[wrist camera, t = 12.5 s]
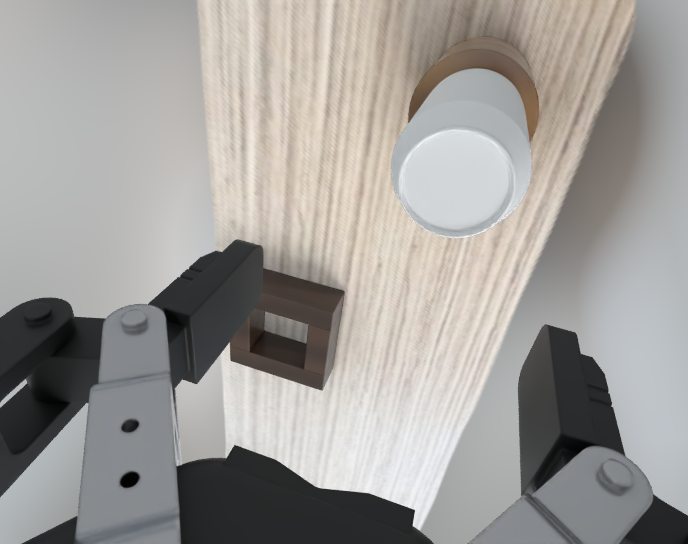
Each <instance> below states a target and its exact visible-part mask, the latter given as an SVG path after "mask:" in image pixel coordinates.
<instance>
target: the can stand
mask: <svg viewBox="0 0 688 544" xmlns="http://www.w3.org/2000/svg"><path fill="white" fill-rule="evenodd" d="M343 299H344V291H341V290H337V289H334V288H330V287H326V286H323V285H319V284H316V283H312V282H309V281H305V280H302V279H298V278H295V277H291V276H288V275H284V274H280V273H277V272H273V271H270V270H266V269H263V288H262V295H261V298H260V301H259V303H258V305H257V307H256V309H255V310H254V311H253V312H252V314H251V315H250V316H249V318H248V319H247V320H246V322H245V323H244V324H243V325H242V327H241V328H240V329H239V331H238V332H237V333H236V334H235V336H234V337H233V338H232V340H231V341H230V358H231V361H233V362H236V363H239V364H242V365H245V366H248V367H251V368H254V369H257V370H260V371H263V372H266V373H270V374H273V375H276V376H279V377H282V378H285V379H288V380H291V381H294V382H297V383H300V384H303V385H306V386H309V387H312V388H315V389H319V390H323V389H324V386H325V384H326V382H327V380H328V378H329V375H330V373H331V371H332V369H333V365H334V358H335V351H336V345H337V338H338V332H339V325H340V319H341V312H342V306H343ZM264 311H266V312H269V313H273V314H276V315H279V316H283V317H286V318H289V319H293V320H296V321H299V322H303V323H306V324H309V326H308V336H307V344H304V343H301V342H297V341H294V340H291V339H288V338H284V337H281V336H278V335H275V334H272V333H268V332H265V331H264Z"/></svg>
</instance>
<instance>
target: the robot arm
mask: <svg viewBox="0 0 688 544" xmlns="http://www.w3.org/2000/svg"><path fill="white" fill-rule="evenodd" d="M262 288H263V248H262V246H260V245H256V244H253V243H249V242H245V241H242V240H235V241H234V242H233V243H232V244H230V245H229V246H228V247H227V248H226V249H225V250H224V251H223V252H219V251H214V252H212V253H210V254H207V255H205V256H203V257H200V258H199V259H198V260H197V261H196V262H195V263H194V264H193V265H191V266H190V267H189V270H188V269H187V270H186V271H185V272H183V273H182V274H181V276H180V278H179V277H178V278H177V279H176V280H174V281H173V282H172V283H171V284H170V285H169V286H168V287H167V288H166V289H164V290H163V291H162V292H161V293H160V294H159V295H158V296H157V297H155V298H154V299H153V300H152V301H151V302H150V303H149V304H148V305H147V304H134V305H129V306H125V307H122V308H120V309H118V310H116V311H114V312H113V313H111V314H110V315H109V316H108V317H107V318H106V319H103V318H86V317H74V314H73V310H72V307H71V305H70V304H69V303H68V302H66V301H64V300H62V299H58V298H39V299H34V300H31V301H27V302H25V303H22V304H20V305H18V306H16V307H15V308H13V309H12V310H10V311H9V312H8V313H6V314H5V315H3V316H2V317H1V318H0V402H1V401H2V400H3V399H4V398H5V397H6V396H7V394H9V393H10V392H11V391H12V390H13V389H15V388H16V387H17V386H18V385H19V384H20V383H21V382H22V381H23V380H25V379H26V380H27V384H26V385H25V386H24V387H23V388H22V389H21V390H20V391H19V392H17V393H16V394H15V395H14V396H13V397H12V398H11V399H10V400H9V401H7V402H6V403H5V404H4V405H3V406H2V407H1V408H0V497H1V496H2V495H3V494H4V493H5V492H6V490H7V489H8V488H9V487H10V486H11V485H12V484H13V483H14V482H15V481H16V480H17V478H18V477H19V476H20V475H21V474H22V473H23V472H24V471H25V470H26V468H27V467H28V466H29V465H30V464H31V463H32V462H33V461H34V460H35V459H36V458H37V456H38V455H39V454H40V453H41V452H42V451H43V450H44V449H45V448H46V447H47V445H48V444H49V443H50V442H51V441H52V440H53V439H54V438H55V437H56V436H57V435H58V433H59V432H60V431H61V430H62V429H63V428H64V427H65V426H66V425H67V424H68V422H69V421H70V420H71V419H72V418H73V417H74V416H75V415H76V414H77V412H79V410H80V409H81V408H82V407H83V406H84V405H85V404H86V403H89V406H88V416H87V426H86V436H85V446H84V456H83V466H82V477H81V486H80V497H79V506H78V516H76V517H74V518H72V519H70V520H68V521H66V522H64V523H62V524H60V525H58V526H56V527H54V528H52V529H50V530H48V531H46V532H44V533H42V534H40V535H38V536H36V537H34V538H32V539H30V540H28V541H26V542H24V543H22V544H434V543H433V542H432V541H431V540H430V539H429V538H427V537H426V536H425V535H424V534H423V533H422V532H420V531H419V530H418V529H416V528H415V527H413V526H412V525H413V519H414V513H415V510H413V509H410V508H408V507H405V506H402V505H399V504H396V503H394V502H391V501H388V500H385V499H383V498H380V497H377V496H374V495H372V494H369V493H360V492H350V491H340V490H330V489H321V488H317V487H315V486H313V485H312V484H310V483H309V482H307V481H306V480H304V479H303V478H302V477H300V476H299V475H297V474H296V473H294V472H293V471H291V470H290V469H289V468H287V467H286V466H284V465H283V464H281V463H280V462H278V461H277V460H275V459H272V458H269V457H266V456H263V455H261V454H258V453H255V452H252V451H250V450H247V449H244V448H241V447H239V446H236V445H234V447H233V449H232V450H231V452H230V454H229V455H228V457H227V458H208V459H201V460H196V461H192V462H188V463H185V464H182V460H181V449H180V438H179V426H178V415H177V403H176V393H175V388H176V386H177V385H178V384H179V383H180V381H181V380H182V379H183V380H186V381H189V382H192V383H194V384H197V383H198V382H199V381H200V380H201V378H202V377H203V376H204V374H205V373H206V372H207V371H208V369H209V368H210V367H211V365H212V364H213V363H214V362H215V360H216V359H217V358H218V356H219V355H220V354H221V353H222V351H223V350H224V349H225V347H226V346H227V345H228V343H229V342H230V341H231V340H232V338H233V337H234V336H235V334H236V333H237V332H238V331H239V329H240V328H241V327H242V325H243V324H244V323H245V322H246V320H247V319H248V318H249V316H250V315H251V314H252V312H253V311H254V310H255V309H256V307H257V305H258V303H259V301H260V298H261V295H262ZM518 400H519V401H518V402H519V432H520V433H519V436H520V466H521V468H520V469H521V496H522V497H521V498H520V499H518V500H517V501H516V502H515V503H514V504H513V505H512V506H510V507H509V508H508V509H507V510H506V511H505V512H503V513H502V514H501V515H500V516H499V517H498V518H496V519H495V520H494V521H493V522H492V523H491V524H490V525H489V526H487V527H486V528H485V529H484V530H483V531H482V532H480V533H479V534H478V535H477V536H476V537H475V538H474V539H472V540H471V541H470V542H469V543H468V544H688V516H687V515H686V514H684V513H682V512H681V511H679V510H677V509H675V508H674V507H672V506H670V505H668V504H667V503H665V502H664V501H662V500H660V499H659V498H658V497H656V496H655V495H654V494H653V491H652V487H651V485H650V483H649V481H648V479H647V477H646V476H645V475H644V473H643V472H642V471H641V470H640V469H639V467H638V466H637V465H636V464H634V463H633V462H632V461H631V460H630V459H628V458H627V457H626V456H625V453H624V449H623V445H622V442H621V437H620V433H619V429H618V426H617V421H616V417H615V413H614V410H613V407H611V405H612V402H611V398H610V394H609V393H608V386H607V382H606V378H605V374H604V373H603V371H602V370H601V369H600V367H599V366H598V364H597V363H596V362H595V360H594V359H593V358H592V357H589V356H586V355H582V354H581V353H580V348H579V344H578V338H577V335H576V333H575V332H572V331H568V330H564V329H560V328H556V327H553V326H550V325H544V326H543V327H542V328H541V330H540V332H539V334H538V336H537V338H536V340H535V342H534V344H533V346H532V348H531V350H530V352H529V354H528V356H527V359H526V360H525V363H524V365H523V367H522V370H521V373H520V377H519V383H518Z"/></svg>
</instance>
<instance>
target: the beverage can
mask: <svg viewBox="0 0 688 544" xmlns="http://www.w3.org/2000/svg"><path fill="white" fill-rule="evenodd" d="M531 174H532V155H531V148H530V141H529V134H528V127H527V121H526V114H525V109H524V104H523V101H522V98H521V96H520V94H519V92H518V90H517V89H516V87H515V86H514V85H513V84H512V83H511V82H510V81H509V80H508V79H507V78H506V77H504V76H503V75H501V74H499V73H497V72H494V71H491V70H487V69H480V68H473V69H466V70H462V71H459V72H456V73H454V74H452V75H450V76H448V77H447V78H445V79H444V80H443V81H441V82H440V83H439V84H438V85H437V86H436V87H435V88H434V89H433V90H432V92H431V93H430V94H429V96H428V97H427V98H426V100H425V101H424V103H423V104H422V105H421V107H420V108H419V109H418V111H417V112H416V114H415V115H414V117H413V118H412V119H411V121H410V122H409V124H408V125H407V126H406V128H405V129H404V131H403V132H402V134H401V135H400V137H399V139H398V141H397V143H396V145H395V148H394V151H393V155H392V161H391V178H392V183H393V187H394V190H395V193H396V195H397V197H398V199H399V201H400V202H401V204H402V206H403V208H404V210H405V211H406V213H407V214H408V215H409V217H410V218H411V219H412V220H413V221H414V222H415V223H416V224H417V225H419V226H420V227H421V228H423V229H425V230H426V231H428V232H430V233H433V234H435V235H439V236H442V237H448V238H464V237H470V236H473V235H477V234H479V233H482V232H484V231H486V230H488V229H489V228H491V227H492V226H494V225H496V224H497V223H499V222H501V221H502V220H503V219H505V218H506V217H507V216H509V215H510V214H511V213H512V212H513V211H514V210H515V209H516V207H517V206H518V205H519V204H520V202H521V201H522V199H523V197H524V195H525V193H526V191H527V189H528V186H529V183H530V179H531Z"/></svg>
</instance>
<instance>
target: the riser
mask: <svg viewBox="0 0 688 544" xmlns="http://www.w3.org/2000/svg"><path fill="white" fill-rule="evenodd" d="M473 68H480V69H487V70H491V71H494V72H497V73H499V74H501V75H503V76H504V77H506V78H507V79H508V80H509V81H510V82H511V83H512V84H513V85H514V86H515V87H516V89H517V90H518V92H519V94H520V96H521V98H522V101H523V104H524V109H525V114H526V121H527V127H528V134H529V141H531V139H532V137H533V135H534V133H535V130H536V126H537V122H538V116H539V102H538V96H537V92H536V88H535V84H534V81H533V77H532V74H531V70H530V67H529V65H528V63H527V61H526V59H525V58H524V56H523V55H522V54H521V52H520V51H519V50H518V49H516V48H515V47H514V46H513V45H511V44H510V43H508V42H506V41H504V40H501V39H498V38H494V37H476V38H471V39H468V40H464V41H462V42H460V43H458V44H456V45H455V46H453V47H451V48H450V49H449V50H448V51H447V52H445V53H444V54H443V55H442V56H441V57H440V59H439V60H438V61H437V62H436V63H435V64H434V65H433V66H432V67H431V68H430V69H429V71H428V72H427V73H426V74H425V75H424V76H423V78H422V79H421V80H420V82H419V84H418V85H417V87H416V89H415V91H414V94H413V96H412V99H411V102H410V107H409V114H408V123H409V122H410V121H411V119H412V118H413V117H414V115H415V114H416V112H417V111H418V109H419V108H420V107H421V105H422V104H423V103H424V101H425V100H426V98H427V97H428V96H429V94H430V93H431V92H432V90H433V89H434V88H435V87H436V86H437V85H438V84H439V83H440V82H441V81H443V80H444V79H445V78H447V77H448V76H450V75H452V74H454V73H456V72H459V71H462V70H466V69H473Z"/></svg>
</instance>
